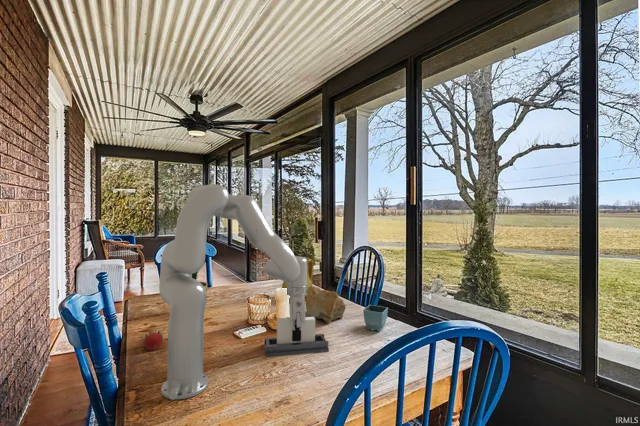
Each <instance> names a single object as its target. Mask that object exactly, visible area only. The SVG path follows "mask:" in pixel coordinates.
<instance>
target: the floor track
mask: <svg viewBox="0 0 640 426" xmlns="http://www.w3.org/2000/svg"><path fill="white" fill-rule="evenodd" d="M263 342H264V343H263V345H264V347H263V348H264V357H265V358H267V357H268V358H269V357H278V356H293V355H301V354H302V355H304V354H313V353H315V354H317V353H327V352H329V351H330V348H329V341H328V340H327V339H325V334H324V333H318V334H316V333H315V342H301V343H287V344H277V336H273V337H264V341H263Z"/></svg>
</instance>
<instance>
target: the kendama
mask: <svg viewBox="0 0 640 426" xmlns="http://www.w3.org/2000/svg"><path fill="white" fill-rule="evenodd" d="M141 341H142V345H143V346H142V347H143V348H145V349H146V350H148V351H156V350H158V349H160V347H162V345H163V342H164V341H165V340H164V333H163V329H159V330H158V331H157V329H156V327H151V328H149V330H148V334H147V333H143V334H141Z"/></svg>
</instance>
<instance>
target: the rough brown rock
mask: <svg viewBox="0 0 640 426" xmlns="http://www.w3.org/2000/svg"><path fill="white" fill-rule="evenodd" d="M346 307H347V306H346V303H345V302H344V299H342V298H340V295H339V294H338V293H337V291H333V290H332V291H330V290H326V289H322V290H321V288H320V287H318V286H313V285H312V286H310V287H309V291H308V297H307V299H306V304H305V311H306V313H307V315H308V317H314V318H315V319H322V320H323V321H324V323H326V324H330V323H331V322H333V321H335V320H337V319H338V318H342V319H343V317H344V313H345V311H346ZM332 320H333V321H332Z"/></svg>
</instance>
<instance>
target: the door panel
mask: <svg viewBox="0 0 640 426" xmlns="http://www.w3.org/2000/svg"><path fill="white" fill-rule="evenodd" d="M295 322H296V321H295ZM295 325H296V324H295ZM292 330H293V323H292V321H291V318H290V317H286V318H285V317H284V318H283V317H282V318H280V317H279V318H277V319H276V337H277V344H287V343H301V342H315V334H316V318H315V317H311V316H305V323H303V322H302V320H301V341H292Z"/></svg>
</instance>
